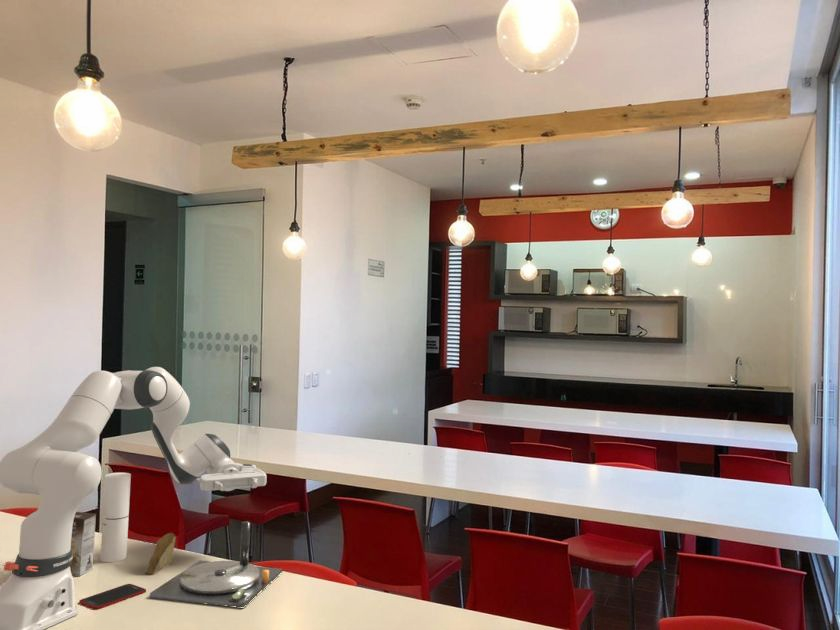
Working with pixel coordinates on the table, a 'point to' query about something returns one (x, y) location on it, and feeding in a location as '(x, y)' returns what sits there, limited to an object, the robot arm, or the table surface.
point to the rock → (162, 553)
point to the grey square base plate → (238, 598)
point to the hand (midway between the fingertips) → (239, 486)
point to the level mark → (265, 576)
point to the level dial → (223, 572)
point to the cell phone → (112, 596)
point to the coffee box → (82, 543)
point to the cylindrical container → (115, 517)
